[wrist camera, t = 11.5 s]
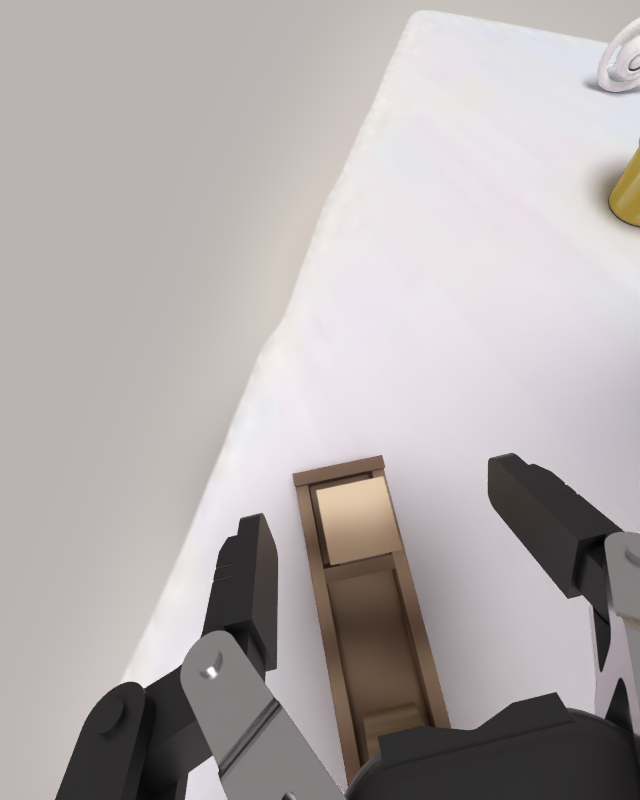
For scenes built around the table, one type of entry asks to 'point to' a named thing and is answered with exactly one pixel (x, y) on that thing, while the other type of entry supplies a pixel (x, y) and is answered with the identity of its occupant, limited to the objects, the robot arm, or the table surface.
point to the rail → (368, 630)
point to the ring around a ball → (622, 60)
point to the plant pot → (628, 193)
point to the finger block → (358, 521)
